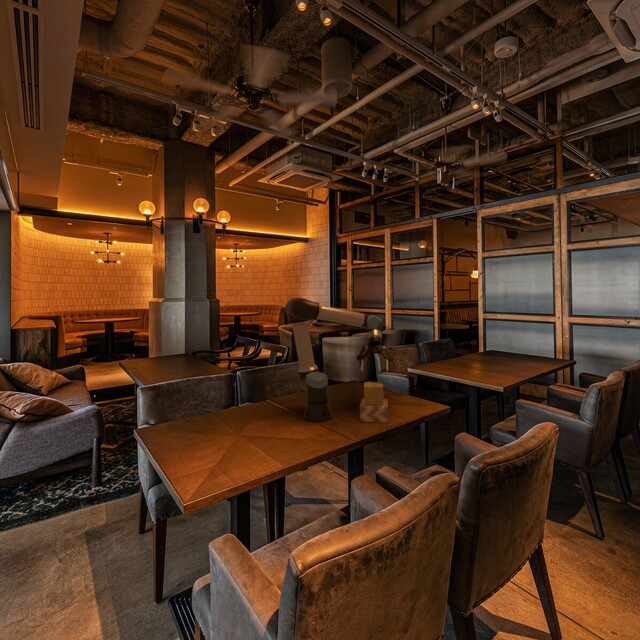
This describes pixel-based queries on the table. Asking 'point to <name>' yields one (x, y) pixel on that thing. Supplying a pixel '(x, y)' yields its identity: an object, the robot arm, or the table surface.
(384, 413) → the chevron patterned block
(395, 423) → the table surface
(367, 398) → the cheese
